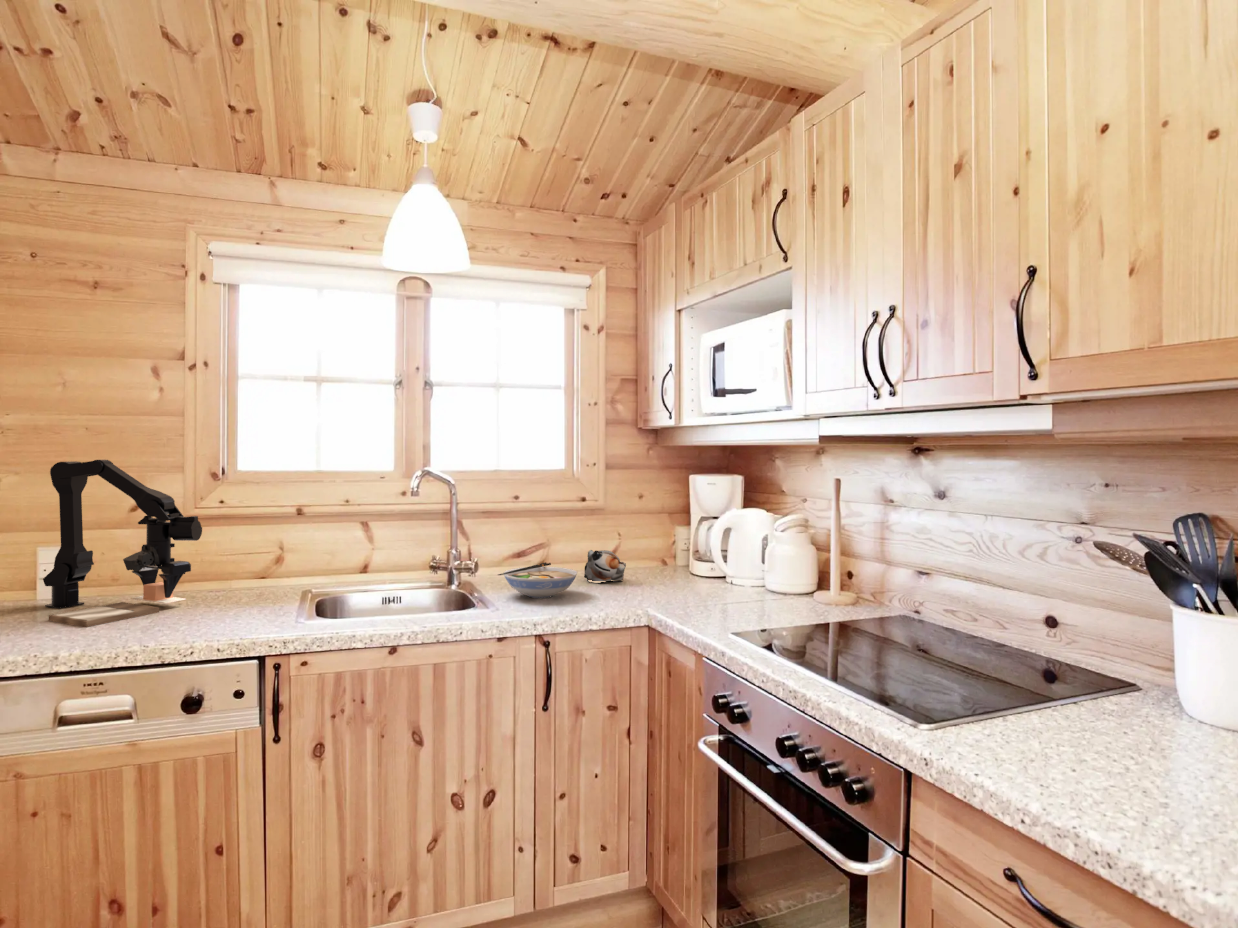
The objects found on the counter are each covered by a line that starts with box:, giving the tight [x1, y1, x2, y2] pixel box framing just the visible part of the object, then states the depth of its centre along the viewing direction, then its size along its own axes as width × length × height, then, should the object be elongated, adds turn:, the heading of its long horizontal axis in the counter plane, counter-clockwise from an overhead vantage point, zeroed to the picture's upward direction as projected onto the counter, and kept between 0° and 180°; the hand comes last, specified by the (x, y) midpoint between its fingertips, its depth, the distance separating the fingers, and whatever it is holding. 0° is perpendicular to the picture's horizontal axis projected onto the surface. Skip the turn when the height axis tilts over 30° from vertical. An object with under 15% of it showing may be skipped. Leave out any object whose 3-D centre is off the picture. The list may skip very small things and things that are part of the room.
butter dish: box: [130, 581, 187, 604], centre depth 196 cm, size 14×6×4 cm, turn 68°
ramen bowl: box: [497, 562, 578, 599], centre depth 218 cm, size 25×23×8 cm
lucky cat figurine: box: [583, 549, 627, 581], centre depth 243 cm, size 15×12×14 cm
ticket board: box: [48, 601, 160, 628], centre depth 184 cm, size 15×18×2 cm
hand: (158, 596), depth 196 cm, fingers open, 7 cm apart
